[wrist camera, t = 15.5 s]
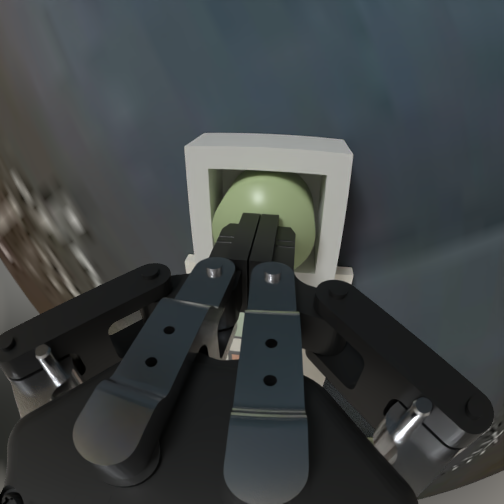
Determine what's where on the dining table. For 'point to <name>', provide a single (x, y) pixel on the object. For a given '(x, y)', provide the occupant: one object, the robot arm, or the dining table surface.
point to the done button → (271, 205)
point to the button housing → (272, 159)
